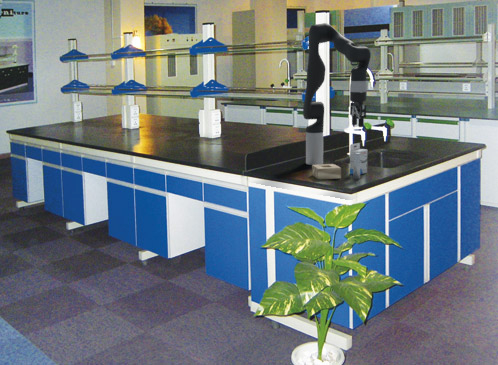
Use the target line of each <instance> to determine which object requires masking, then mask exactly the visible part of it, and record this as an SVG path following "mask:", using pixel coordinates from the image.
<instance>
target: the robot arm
mask: <svg viewBox="0 0 498 365" xmlns="http://www.w3.org/2000/svg"><path fill="white" fill-rule="evenodd" d="M327 42H329V43H333V47H334V48H335V50H336V52H338V53H340V54H342V55H343V56H345V58H346V59H347V61H349V62H352V63H358V64H357V66H356V67H354V68H352V69H351V70H350V84H349V85H350V87H349V101H350V109H349V110H350V111H349V115H350V116H351V125H352V126H356V125H358V127H359V128H364V126H365V125H364V122H365V118H367V105H366V104H364V102H367V95H368V94H367V93H368V92H367V86H368V85H367V71H368V68H369V64H370V61H371V56H372V54H371V51H370V48H369V47H367V46H357V45H356V43H355V42H353V41H352V40H350V39H348V38H347V37H345V36H343V35H342V34H341V33H340V32H339V31H338V30H337V29H336V28H335V27H333V26H332V25H331V24H329V23H328V22H327V23H325V22H324V23H318V24H313V25H311V26H310V28H309V30H308V60H307V68H306V70H307V71H306V85H305V95H304V101H303V106H302V107H303V108H302V115H303V116H302V117H303V118H304V119H305V120H315V121H314V122H313V123H312V124H309V125H307V126H306V127H305V164H306V165H308V166H309V165H310V166H312V165H322V164H324V124H325V123H324V122H325V121H324V120H325V105H324V103H323V102H322V101H313V98H314V96H315V94H316V93H317V92H318V90H319V89H320V88H321V86H323V83H324V82H325V77H326V66H325V63H324V61H323V59H322V58H321V55H320V50H319V47H320V44H323V43H324V44H325V43H327Z"/></svg>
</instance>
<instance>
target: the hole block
mask: <svg viewBox="0 0 498 365" xmlns="http://www.w3.org/2000/svg"><path fill="white" fill-rule="evenodd" d="M311 175H312V176H313V177H314V178H316V179H317V180H330V179H331V180H332V179H342V167H340V166H339V165H336V164H334V163H325V164H324V163H323V164H320V165H311Z"/></svg>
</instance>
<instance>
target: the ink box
mask: <svg viewBox="0 0 498 365" xmlns="http://www.w3.org/2000/svg"><path fill="white" fill-rule="evenodd" d="M368 152H369V151H368V149H366V148H361V143H360V142H357V143H352V144H350V151H349V175H353V167H354V153H361V160H360V175H363V174H367V173H368Z"/></svg>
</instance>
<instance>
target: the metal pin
mask: <svg viewBox="0 0 498 365" xmlns="http://www.w3.org/2000/svg"><path fill="white" fill-rule="evenodd" d="M360 160H361V153H354V167H353V174H352V175H353V177H352V178H353V179H354V180H360V179H361V174H360Z"/></svg>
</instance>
